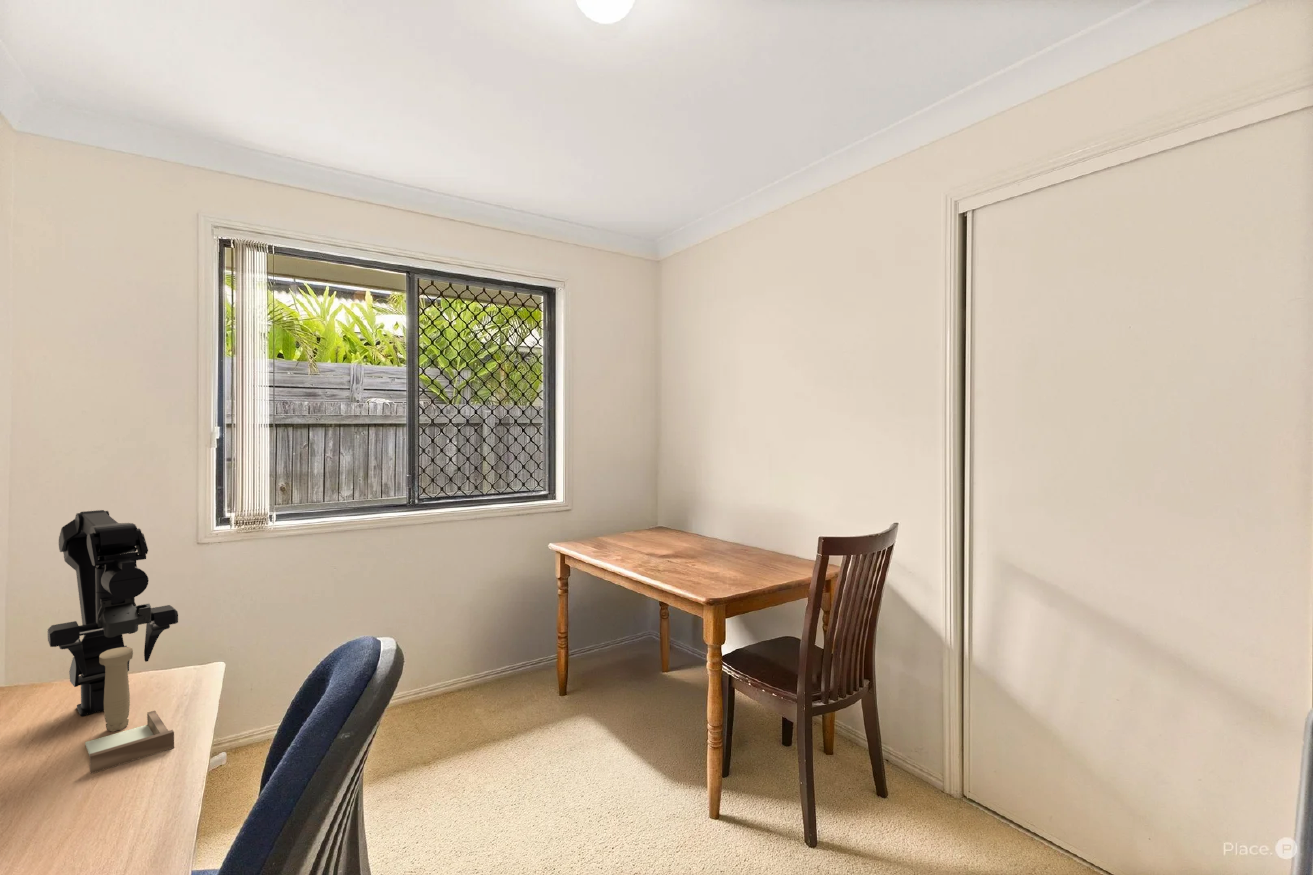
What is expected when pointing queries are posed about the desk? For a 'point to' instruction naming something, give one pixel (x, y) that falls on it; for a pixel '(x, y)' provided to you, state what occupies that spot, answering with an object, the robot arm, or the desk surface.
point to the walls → (135, 746)
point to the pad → (118, 739)
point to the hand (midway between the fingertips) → (116, 667)
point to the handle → (116, 687)
